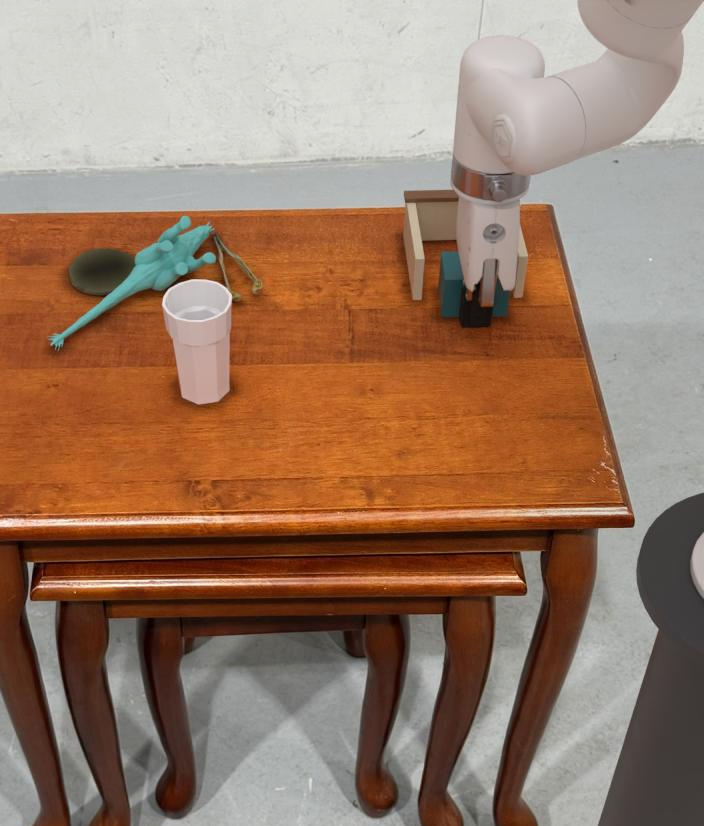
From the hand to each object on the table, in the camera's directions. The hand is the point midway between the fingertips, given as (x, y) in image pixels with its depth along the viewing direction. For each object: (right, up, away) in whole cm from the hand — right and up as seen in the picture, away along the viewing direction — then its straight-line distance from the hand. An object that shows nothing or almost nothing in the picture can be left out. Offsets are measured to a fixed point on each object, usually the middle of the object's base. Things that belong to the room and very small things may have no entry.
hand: (474, 322), depth 135 cm
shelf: (0, +7, +9) cm, 12 cm away
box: (0, +3, +4) cm, 5 cm away
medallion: (-40, +7, +8) cm, 42 cm away
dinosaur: (-33, +6, 0) cm, 34 cm away
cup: (-28, -7, -5) cm, 29 cm away
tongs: (-26, +7, +9) cm, 29 cm away
